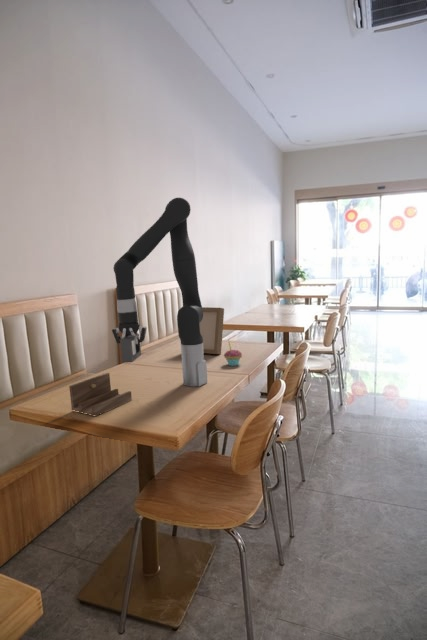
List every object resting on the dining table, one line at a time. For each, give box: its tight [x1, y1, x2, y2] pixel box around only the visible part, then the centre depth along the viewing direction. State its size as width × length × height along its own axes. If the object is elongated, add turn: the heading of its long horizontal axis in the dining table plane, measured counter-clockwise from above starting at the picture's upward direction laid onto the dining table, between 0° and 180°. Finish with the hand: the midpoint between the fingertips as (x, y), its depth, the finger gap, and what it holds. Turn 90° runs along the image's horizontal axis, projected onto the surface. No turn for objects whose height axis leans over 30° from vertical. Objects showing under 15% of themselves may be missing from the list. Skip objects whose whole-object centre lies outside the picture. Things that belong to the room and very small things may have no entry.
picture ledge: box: [68, 372, 133, 416], centre depth 154 cm, size 12×18×10 cm, turn 148°
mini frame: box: [119, 333, 142, 363], centre depth 168 cm, size 4×12×9 cm, turn 173°
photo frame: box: [199, 306, 225, 355], centre depth 233 cm, size 15×22×25 cm
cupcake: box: [223, 340, 243, 367], centre depth 203 cm, size 9×8×12 cm
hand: (131, 352), depth 168 cm, fingers closed on mini frame, 4 cm apart
